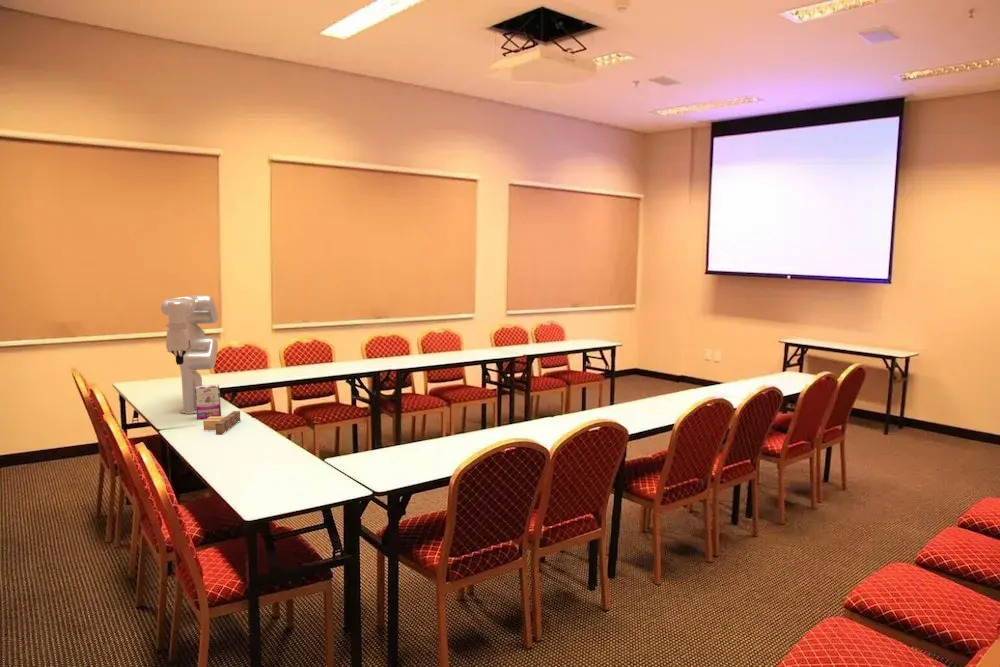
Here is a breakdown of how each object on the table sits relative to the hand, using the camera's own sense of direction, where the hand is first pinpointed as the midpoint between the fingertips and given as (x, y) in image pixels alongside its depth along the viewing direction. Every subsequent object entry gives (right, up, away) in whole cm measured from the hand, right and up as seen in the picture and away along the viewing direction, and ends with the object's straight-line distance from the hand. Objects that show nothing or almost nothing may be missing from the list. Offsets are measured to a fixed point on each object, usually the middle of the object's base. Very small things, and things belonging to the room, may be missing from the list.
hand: (179, 364), depth 323 cm
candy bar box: (+9, -28, +13) cm, 32 cm away
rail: (+26, -30, -5) cm, 40 cm away
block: (+20, -31, -7) cm, 37 cm away
